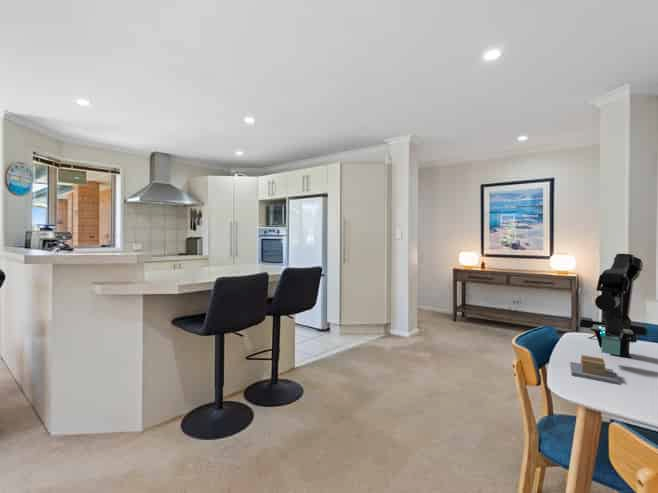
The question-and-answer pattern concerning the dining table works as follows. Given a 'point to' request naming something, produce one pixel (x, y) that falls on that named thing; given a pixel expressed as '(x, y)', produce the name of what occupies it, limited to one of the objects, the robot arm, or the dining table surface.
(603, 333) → the stick construction toy
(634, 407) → the dining table surface
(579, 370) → the slate board
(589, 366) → the walnut base block
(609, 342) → the teal cube
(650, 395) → the dining table surface
